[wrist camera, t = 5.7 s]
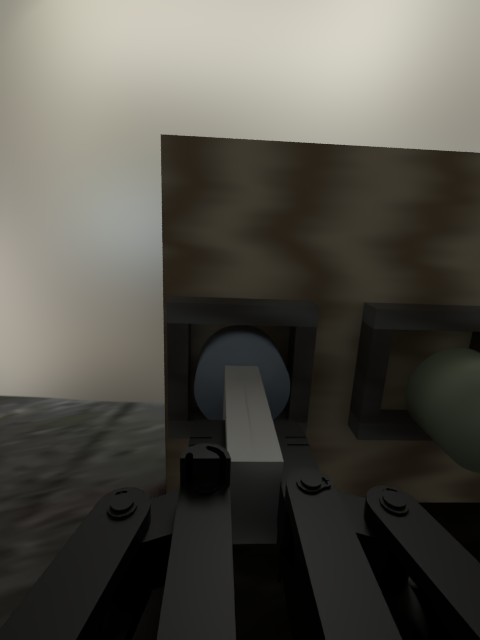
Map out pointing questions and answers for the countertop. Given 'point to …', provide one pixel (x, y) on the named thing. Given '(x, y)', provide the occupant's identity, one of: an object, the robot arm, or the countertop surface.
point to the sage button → (449, 403)
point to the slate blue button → (239, 350)
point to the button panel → (325, 291)
